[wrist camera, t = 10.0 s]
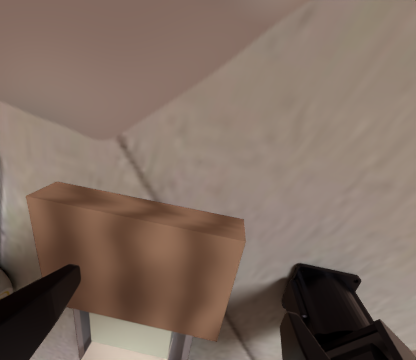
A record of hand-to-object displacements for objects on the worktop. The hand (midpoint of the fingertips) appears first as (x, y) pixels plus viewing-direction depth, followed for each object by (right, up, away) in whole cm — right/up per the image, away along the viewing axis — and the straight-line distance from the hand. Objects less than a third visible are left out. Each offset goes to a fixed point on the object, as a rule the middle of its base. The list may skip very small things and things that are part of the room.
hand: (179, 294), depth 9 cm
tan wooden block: (-6, -4, +15) cm, 17 cm away
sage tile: (-8, -13, +19) cm, 24 cm away
